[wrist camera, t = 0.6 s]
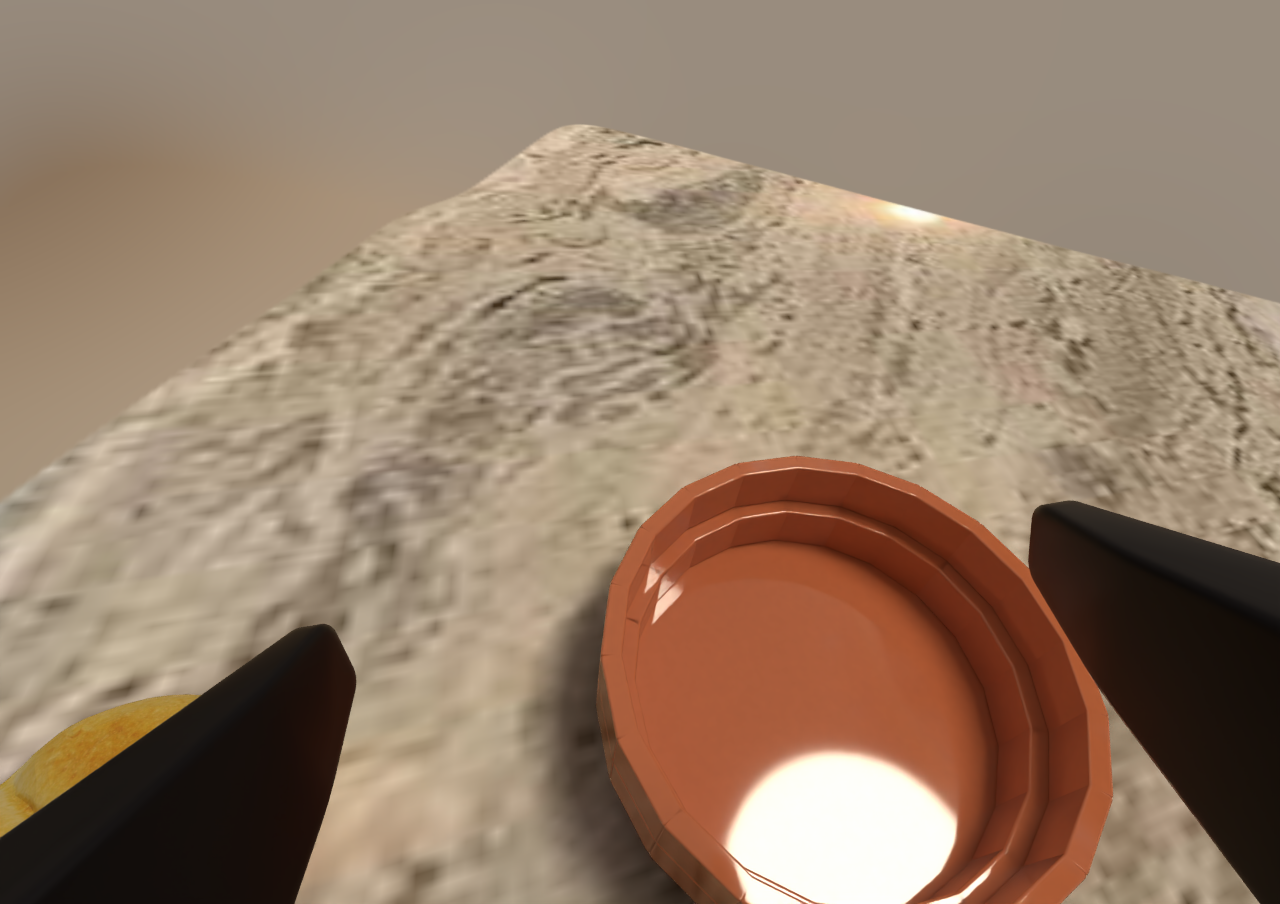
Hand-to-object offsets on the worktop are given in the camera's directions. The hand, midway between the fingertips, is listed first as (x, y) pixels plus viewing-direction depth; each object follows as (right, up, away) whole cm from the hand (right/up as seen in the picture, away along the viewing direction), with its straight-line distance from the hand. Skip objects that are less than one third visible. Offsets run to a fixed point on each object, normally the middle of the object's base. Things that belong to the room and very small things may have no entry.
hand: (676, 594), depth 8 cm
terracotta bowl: (+5, -7, +14) cm, 16 cm away
